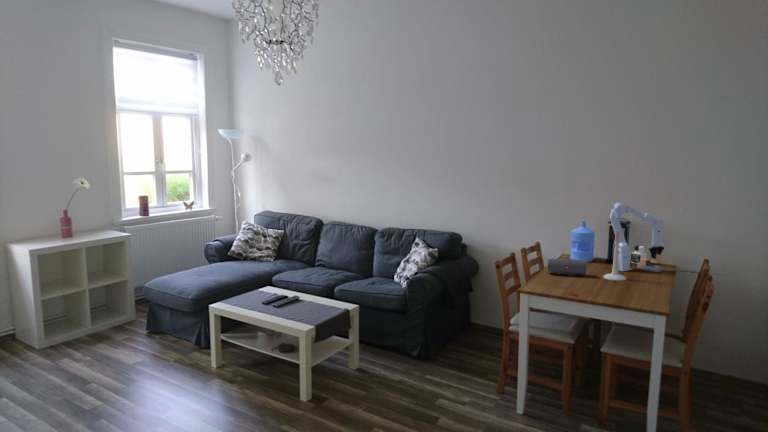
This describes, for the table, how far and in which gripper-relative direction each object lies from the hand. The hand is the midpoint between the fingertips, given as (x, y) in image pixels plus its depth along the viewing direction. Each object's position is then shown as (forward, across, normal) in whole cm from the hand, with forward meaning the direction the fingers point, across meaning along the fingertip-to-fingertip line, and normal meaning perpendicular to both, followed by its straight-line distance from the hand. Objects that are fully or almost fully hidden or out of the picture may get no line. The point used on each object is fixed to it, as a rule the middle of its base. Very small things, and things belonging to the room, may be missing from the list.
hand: (655, 258), depth 320 cm
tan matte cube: (+3, 0, 0) cm, 3 cm away
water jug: (+8, -14, +46) cm, 49 cm away
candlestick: (+8, -40, 0) cm, 40 cm away
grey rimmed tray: (+8, 0, +3) cm, 9 cm away
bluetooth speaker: (+8, -58, +22) cm, 62 cm away
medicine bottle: (+8, +12, +19) cm, 24 cm away
